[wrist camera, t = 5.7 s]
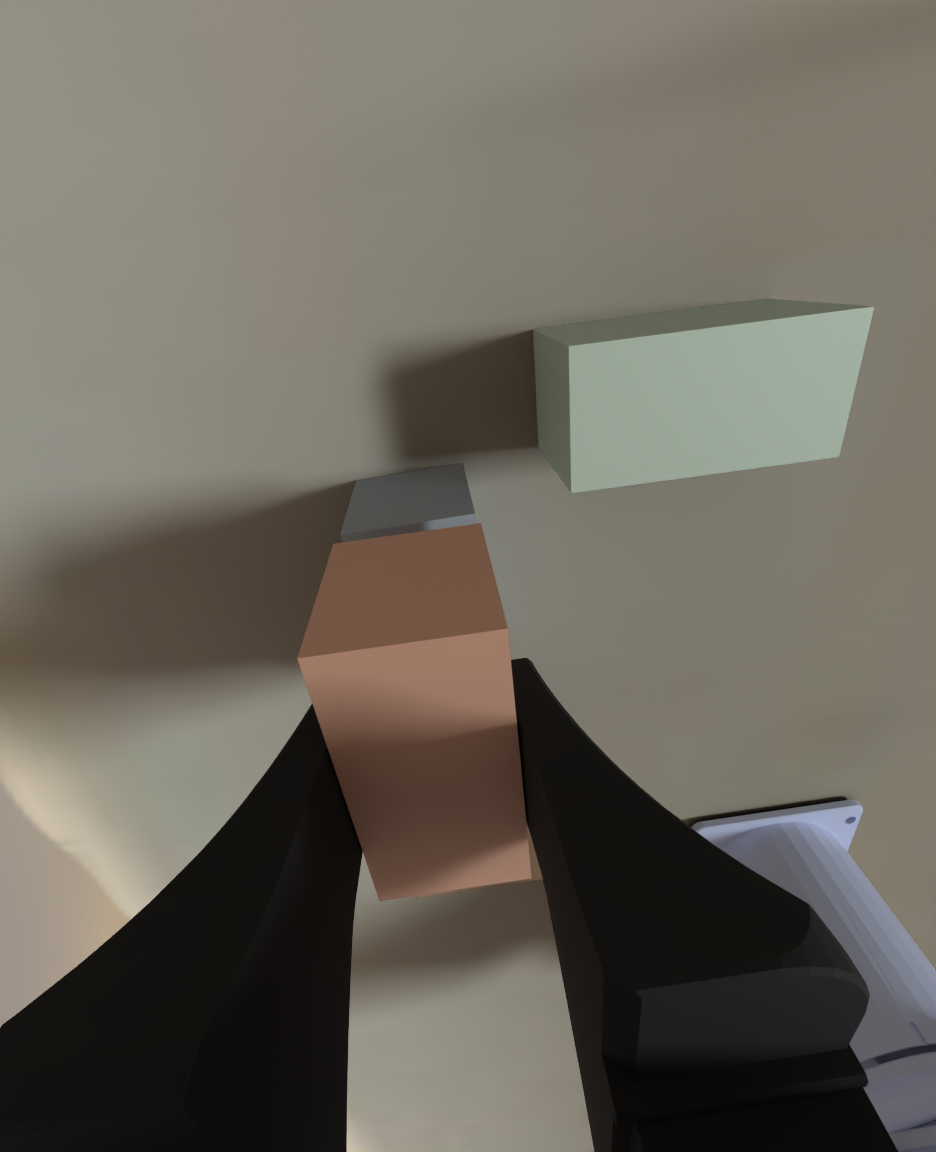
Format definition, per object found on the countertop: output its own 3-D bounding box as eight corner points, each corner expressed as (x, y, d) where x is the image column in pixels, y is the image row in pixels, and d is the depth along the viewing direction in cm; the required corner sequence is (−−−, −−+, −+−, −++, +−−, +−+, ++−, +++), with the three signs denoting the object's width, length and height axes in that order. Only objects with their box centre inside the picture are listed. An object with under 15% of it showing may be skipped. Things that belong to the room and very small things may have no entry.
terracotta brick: (504, 736, 15) (531, 878, 11) (388, 753, 15) (379, 901, 11) (480, 523, 12) (507, 628, 8) (333, 543, 12) (296, 658, 8)
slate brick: (487, 634, 19) (502, 713, 16) (399, 648, 19) (395, 731, 16) (462, 462, 16) (474, 513, 13) (356, 478, 16) (339, 534, 13)
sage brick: (765, 298, 15) (874, 306, 11) (748, 417, 16) (838, 456, 13) (532, 328, 15) (568, 346, 11) (537, 445, 16) (571, 493, 13)
